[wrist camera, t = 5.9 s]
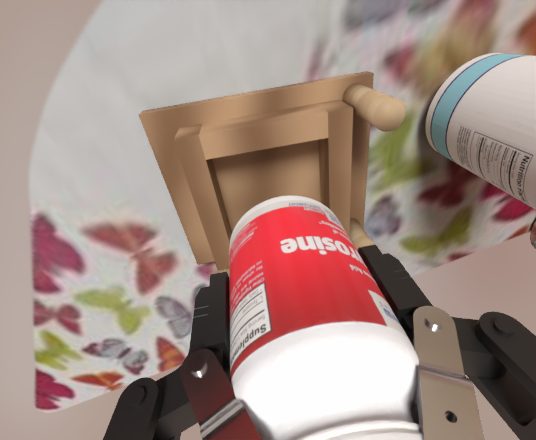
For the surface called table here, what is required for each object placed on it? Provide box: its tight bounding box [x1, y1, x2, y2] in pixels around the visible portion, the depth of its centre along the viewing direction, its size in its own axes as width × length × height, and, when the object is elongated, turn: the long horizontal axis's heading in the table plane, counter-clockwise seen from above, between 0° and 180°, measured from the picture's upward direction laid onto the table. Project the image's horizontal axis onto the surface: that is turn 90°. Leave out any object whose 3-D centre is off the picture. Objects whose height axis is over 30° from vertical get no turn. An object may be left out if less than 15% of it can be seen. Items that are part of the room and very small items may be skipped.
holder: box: [139, 72, 406, 270], centre depth 20 cm, size 15×13×6 cm
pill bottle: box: [229, 195, 423, 440], centre depth 11 cm, size 6×6×11 cm
